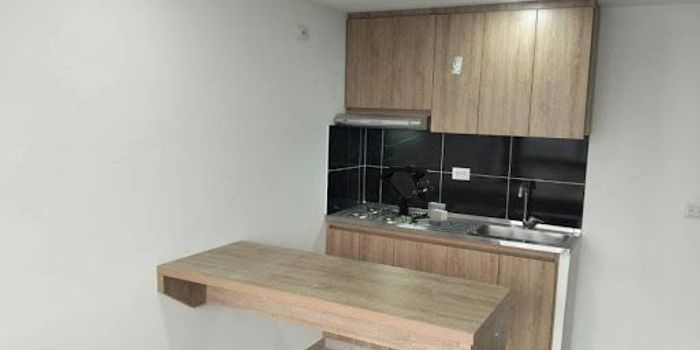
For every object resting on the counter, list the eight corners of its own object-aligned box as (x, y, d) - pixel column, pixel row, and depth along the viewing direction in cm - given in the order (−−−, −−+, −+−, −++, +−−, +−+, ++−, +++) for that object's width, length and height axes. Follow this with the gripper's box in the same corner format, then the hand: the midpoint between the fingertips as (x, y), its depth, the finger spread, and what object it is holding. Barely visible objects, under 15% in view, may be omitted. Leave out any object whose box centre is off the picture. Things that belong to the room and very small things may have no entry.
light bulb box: (444, 218, 388) (445, 204, 387) (440, 220, 382) (441, 205, 381) (430, 216, 394) (432, 201, 392) (426, 217, 388) (428, 202, 387)
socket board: (414, 221, 371) (414, 214, 371) (427, 219, 380) (428, 213, 380) (438, 228, 355) (439, 221, 354) (452, 226, 364) (452, 219, 363)
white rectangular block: (430, 222, 365) (431, 209, 364) (436, 221, 369) (437, 208, 368) (440, 225, 359) (441, 212, 358) (446, 224, 362) (447, 211, 361)
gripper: (410, 179, 368) (419, 200, 363) (433, 174, 376) (441, 194, 371) (403, 186, 377) (412, 206, 372) (425, 181, 386) (434, 201, 381)
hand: (425, 202), depth 374 cm, fingers closed
